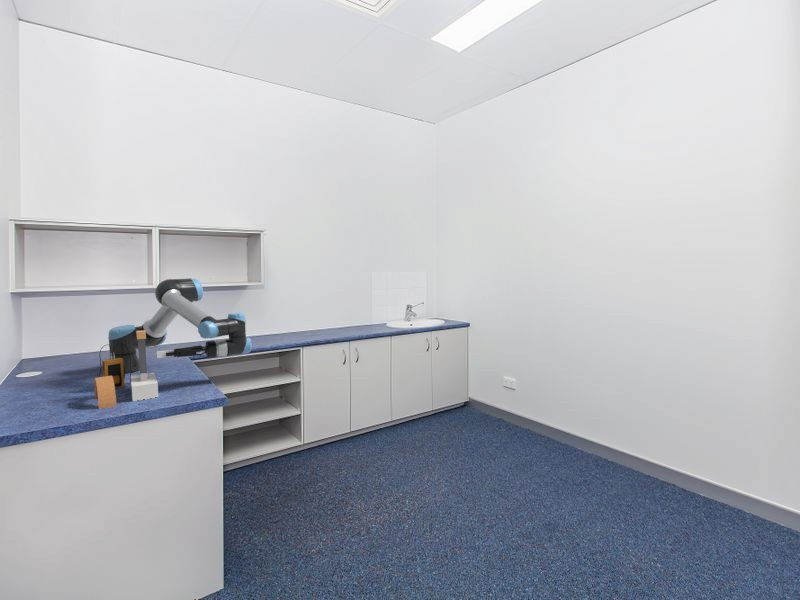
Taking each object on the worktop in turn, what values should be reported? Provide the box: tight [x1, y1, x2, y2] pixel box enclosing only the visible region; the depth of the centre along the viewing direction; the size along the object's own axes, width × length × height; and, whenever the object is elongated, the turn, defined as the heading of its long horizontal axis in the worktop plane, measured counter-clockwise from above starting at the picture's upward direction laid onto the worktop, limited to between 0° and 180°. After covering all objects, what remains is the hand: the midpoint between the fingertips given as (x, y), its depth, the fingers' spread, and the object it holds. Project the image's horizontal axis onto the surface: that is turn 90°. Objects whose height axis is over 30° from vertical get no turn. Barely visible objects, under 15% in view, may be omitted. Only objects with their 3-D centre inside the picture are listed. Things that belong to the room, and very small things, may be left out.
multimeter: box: [98, 343, 132, 389], centre depth 192 cm, size 15×10×20 cm
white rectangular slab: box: [130, 372, 159, 402], centre depth 182 cm, size 22×9×9 cm, turn 33°
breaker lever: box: [136, 330, 148, 374], centre depth 182 cm, size 5×3×20 cm
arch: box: [93, 376, 117, 410], centre depth 171 cm, size 6×20×10 cm, turn 38°
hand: (156, 354), depth 184 cm, fingers closed
